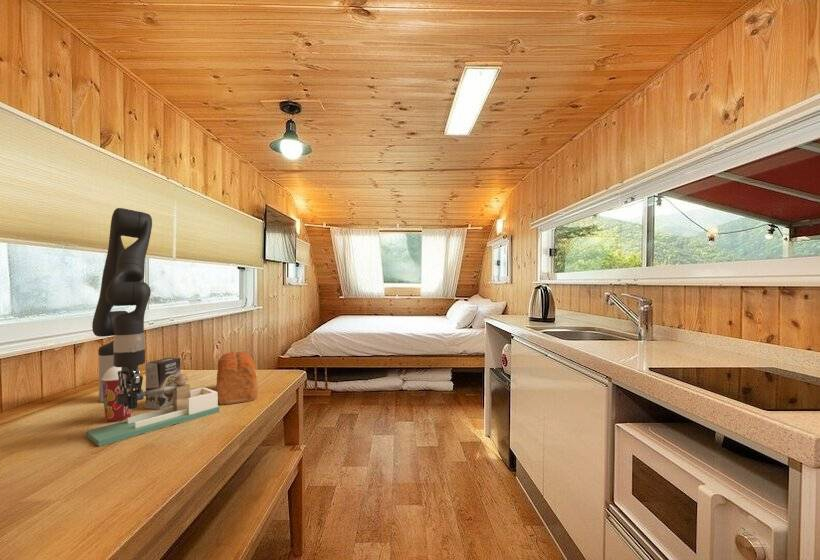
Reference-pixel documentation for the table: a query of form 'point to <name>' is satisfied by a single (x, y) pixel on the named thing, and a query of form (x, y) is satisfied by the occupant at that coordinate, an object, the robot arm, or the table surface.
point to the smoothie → (113, 396)
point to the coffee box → (161, 381)
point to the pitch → (157, 418)
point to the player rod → (179, 391)
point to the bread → (236, 378)
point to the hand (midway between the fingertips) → (130, 406)
